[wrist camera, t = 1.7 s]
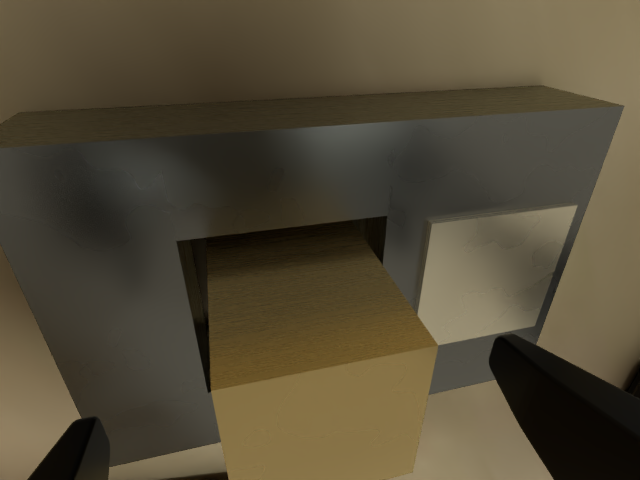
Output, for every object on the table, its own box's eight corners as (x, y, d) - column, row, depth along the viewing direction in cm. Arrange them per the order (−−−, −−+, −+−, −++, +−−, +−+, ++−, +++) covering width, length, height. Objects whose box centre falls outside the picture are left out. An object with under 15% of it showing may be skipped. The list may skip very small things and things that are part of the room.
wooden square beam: (332, 192, 13) (438, 345, 7) (330, 291, 15) (412, 472, 9) (205, 205, 12) (211, 390, 6) (221, 308, 14) (236, 519, 8)
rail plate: (543, 85, 13) (631, 107, 10) (480, 321, 18) (529, 376, 16) (18, 112, 10) (-49, 154, 7) (120, 389, 15) (103, 474, 12)
